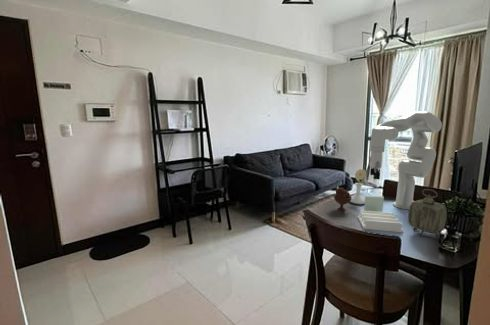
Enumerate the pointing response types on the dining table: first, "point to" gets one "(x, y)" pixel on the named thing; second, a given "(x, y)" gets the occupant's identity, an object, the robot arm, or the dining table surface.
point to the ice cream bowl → (342, 198)
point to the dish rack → (379, 221)
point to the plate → (373, 203)
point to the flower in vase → (357, 197)
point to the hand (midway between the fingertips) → (374, 176)
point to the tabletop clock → (427, 215)
